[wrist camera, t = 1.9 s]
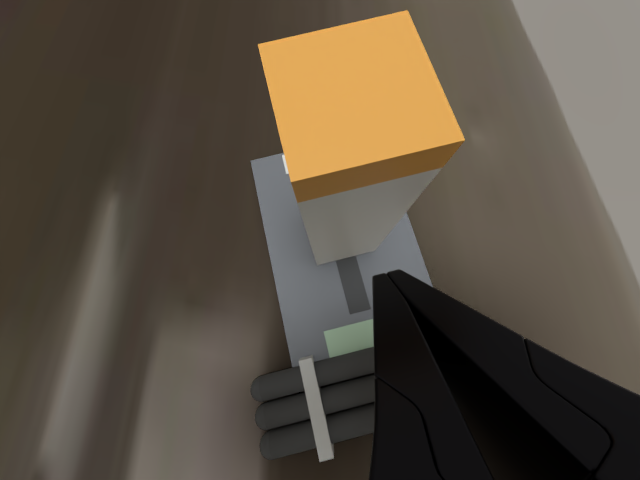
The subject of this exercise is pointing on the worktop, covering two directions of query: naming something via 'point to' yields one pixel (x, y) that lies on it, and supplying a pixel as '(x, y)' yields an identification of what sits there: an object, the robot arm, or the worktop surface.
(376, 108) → the orange-topped grey block
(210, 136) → the worktop surface
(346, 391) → the cord bundle
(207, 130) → the worktop surface
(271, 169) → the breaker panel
